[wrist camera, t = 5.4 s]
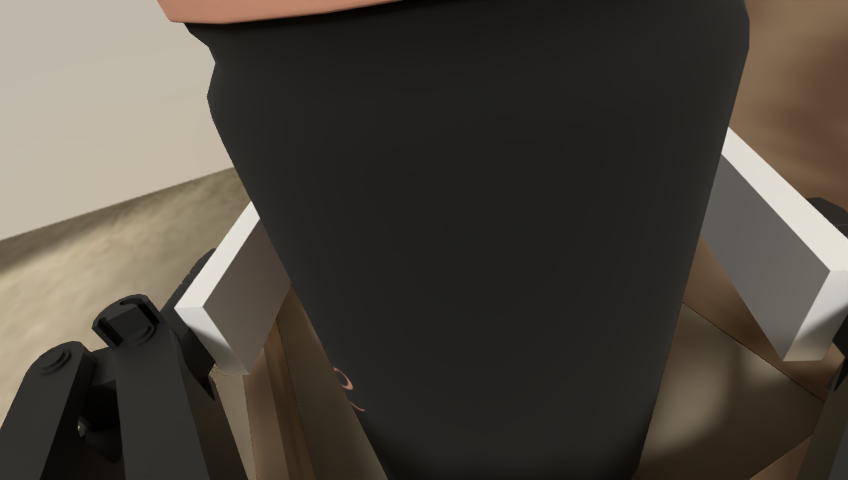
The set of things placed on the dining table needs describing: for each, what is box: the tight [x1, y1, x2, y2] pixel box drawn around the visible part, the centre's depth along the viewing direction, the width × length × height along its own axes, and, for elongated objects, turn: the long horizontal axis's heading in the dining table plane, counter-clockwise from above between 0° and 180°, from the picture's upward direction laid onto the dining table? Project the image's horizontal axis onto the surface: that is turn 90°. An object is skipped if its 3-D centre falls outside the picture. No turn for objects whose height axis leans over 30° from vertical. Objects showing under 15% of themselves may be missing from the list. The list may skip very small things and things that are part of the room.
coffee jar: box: [157, 0, 750, 480], centre depth 13 cm, size 11×11×18 cm
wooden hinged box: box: [243, 0, 848, 480], centre depth 17 cm, size 24×21×16 cm
